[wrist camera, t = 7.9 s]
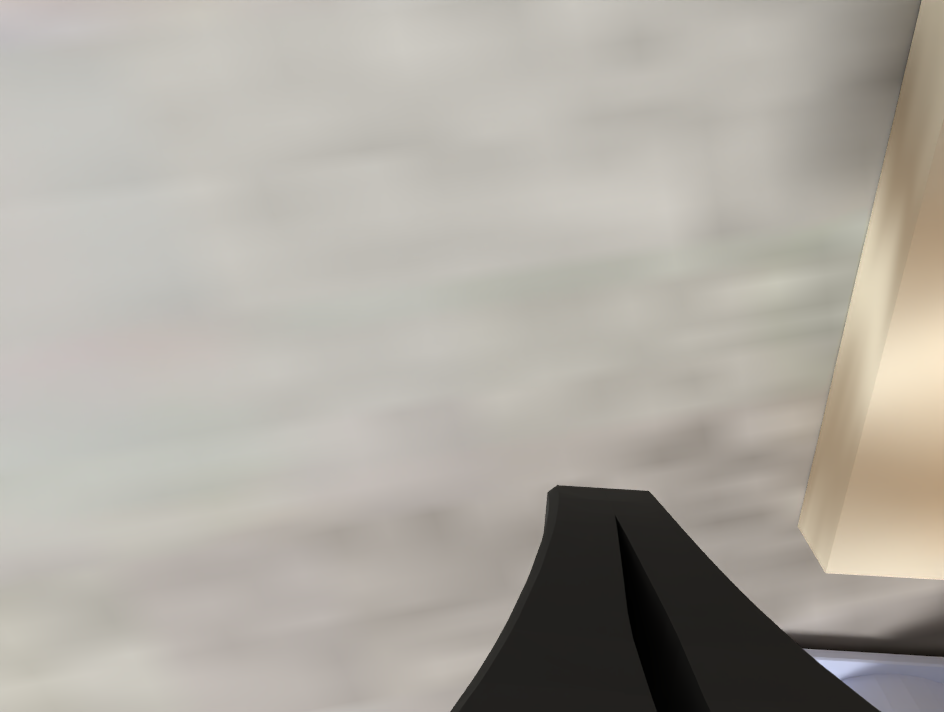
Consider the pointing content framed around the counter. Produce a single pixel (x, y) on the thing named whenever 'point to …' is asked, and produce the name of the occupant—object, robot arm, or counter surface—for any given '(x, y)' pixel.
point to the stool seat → (892, 356)
